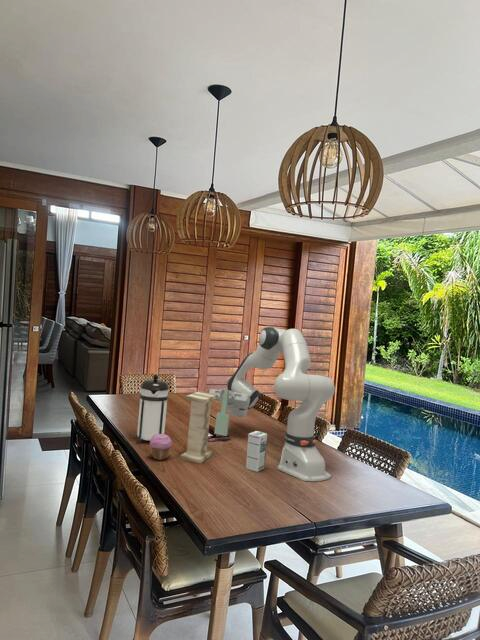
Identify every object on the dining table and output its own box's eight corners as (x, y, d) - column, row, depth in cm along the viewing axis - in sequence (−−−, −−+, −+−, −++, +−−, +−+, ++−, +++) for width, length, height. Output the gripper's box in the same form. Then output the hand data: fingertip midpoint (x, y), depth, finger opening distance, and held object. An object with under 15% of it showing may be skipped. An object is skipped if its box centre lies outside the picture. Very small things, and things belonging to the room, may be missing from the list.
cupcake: (160, 463, 190) (162, 438, 190) (143, 458, 195) (146, 433, 194) (174, 458, 198) (176, 434, 197) (158, 453, 202) (160, 429, 202)
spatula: (221, 389, 232) (220, 389, 230) (233, 391, 230) (232, 391, 228) (215, 433, 230) (214, 433, 229) (227, 435, 228) (226, 435, 227)
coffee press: (175, 442, 220) (181, 376, 219) (146, 447, 208) (152, 378, 207) (152, 432, 232) (157, 370, 230) (123, 437, 220) (129, 371, 219)
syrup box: (257, 472, 191) (261, 436, 190) (245, 468, 194) (248, 432, 193) (264, 468, 196) (268, 433, 195) (252, 465, 199) (255, 430, 198)
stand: (193, 450, 210) (198, 391, 209) (212, 454, 207) (217, 394, 206) (179, 459, 198) (185, 396, 197) (199, 463, 195) (205, 399, 194)
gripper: (214, 392, 245) (206, 381, 233) (253, 398, 238) (247, 388, 226) (211, 404, 242) (203, 394, 230) (250, 410, 235) (243, 401, 224)
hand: (225, 391), depth 228 cm, fingers closed on spatula, 2 cm apart
